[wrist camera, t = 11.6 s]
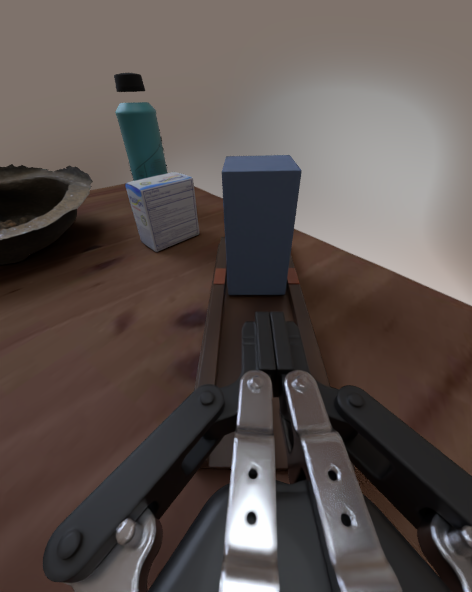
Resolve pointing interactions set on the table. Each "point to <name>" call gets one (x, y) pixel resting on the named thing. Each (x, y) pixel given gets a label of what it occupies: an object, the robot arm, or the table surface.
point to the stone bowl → (37, 207)
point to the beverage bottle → (139, 131)
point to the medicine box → (164, 209)
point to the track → (228, 346)
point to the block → (259, 221)
